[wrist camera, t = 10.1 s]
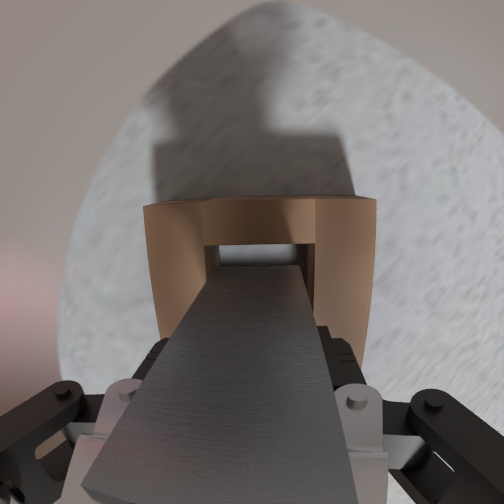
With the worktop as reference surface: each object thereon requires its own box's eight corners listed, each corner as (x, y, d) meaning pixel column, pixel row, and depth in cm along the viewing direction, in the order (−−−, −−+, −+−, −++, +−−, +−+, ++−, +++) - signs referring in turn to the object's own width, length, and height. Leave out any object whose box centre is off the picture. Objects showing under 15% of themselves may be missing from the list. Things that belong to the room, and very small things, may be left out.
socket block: (355, 195, 18) (376, 199, 14) (335, 415, 22) (343, 448, 18) (168, 200, 19) (143, 206, 15) (197, 414, 23) (186, 446, 19)
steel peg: (299, 265, 14) (360, 514, 2) (297, 338, 15) (319, 569, 3) (215, 266, 14) (80, 484, 3) (222, 338, 15) (152, 556, 4)
